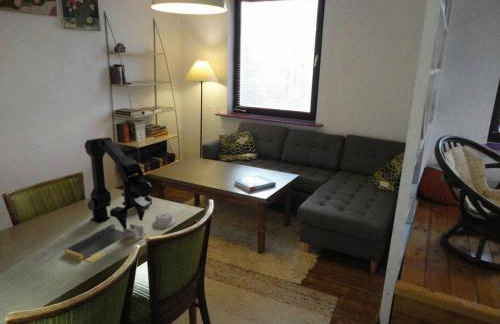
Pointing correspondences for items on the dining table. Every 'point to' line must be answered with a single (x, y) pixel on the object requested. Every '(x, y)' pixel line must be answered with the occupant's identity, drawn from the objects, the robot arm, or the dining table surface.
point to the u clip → (134, 232)
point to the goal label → (95, 257)
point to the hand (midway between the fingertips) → (133, 224)
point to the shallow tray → (93, 243)
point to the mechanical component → (164, 220)
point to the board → (129, 239)
